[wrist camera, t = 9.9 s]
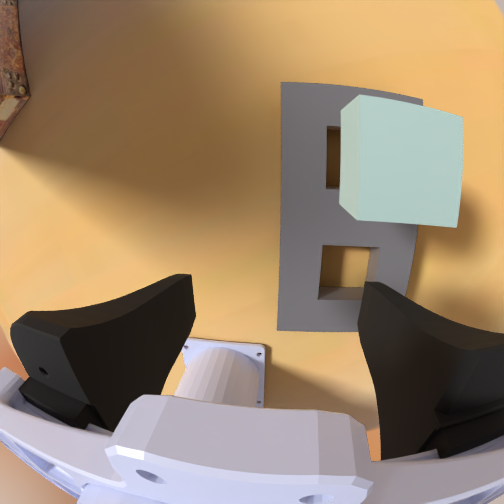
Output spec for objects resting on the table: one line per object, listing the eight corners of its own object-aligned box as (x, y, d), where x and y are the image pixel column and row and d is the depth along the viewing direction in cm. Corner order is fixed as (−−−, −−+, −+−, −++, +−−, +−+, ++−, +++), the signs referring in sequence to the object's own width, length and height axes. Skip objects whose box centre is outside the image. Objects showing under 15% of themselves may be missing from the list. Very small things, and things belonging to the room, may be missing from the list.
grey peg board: (388, 316, 22) (395, 330, 20) (277, 315, 23) (276, 330, 21) (410, 103, 16) (422, 99, 14) (281, 89, 17) (280, 82, 15)
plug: (402, 201, 14) (456, 227, 9) (330, 196, 15) (356, 220, 9) (405, 127, 13) (462, 116, 7) (332, 117, 13) (359, 94, 8)
